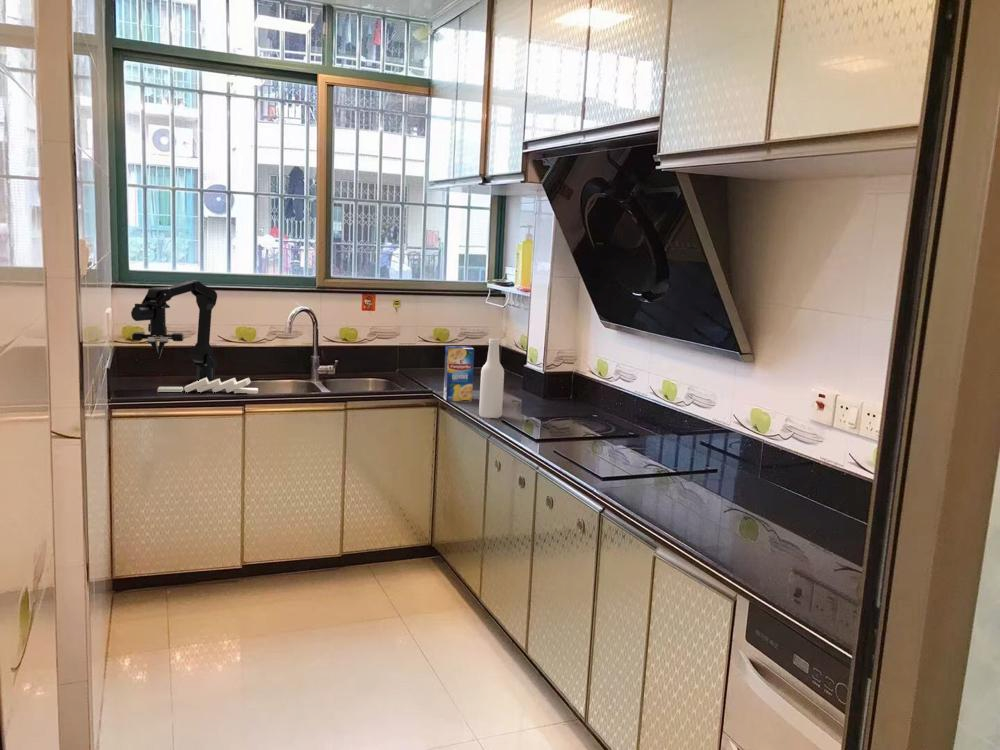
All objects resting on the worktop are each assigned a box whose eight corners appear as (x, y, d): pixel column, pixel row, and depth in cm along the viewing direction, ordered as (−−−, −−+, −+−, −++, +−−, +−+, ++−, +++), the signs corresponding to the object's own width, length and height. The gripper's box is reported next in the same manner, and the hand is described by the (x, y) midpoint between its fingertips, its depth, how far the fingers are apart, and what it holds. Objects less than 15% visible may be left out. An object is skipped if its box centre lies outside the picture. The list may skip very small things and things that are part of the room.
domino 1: (157, 389, 321) (181, 389, 324) (159, 386, 326) (183, 386, 328) (157, 393, 322) (181, 393, 324) (159, 391, 326) (183, 391, 329)
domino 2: (183, 388, 324) (205, 379, 325) (185, 386, 328) (206, 377, 330) (186, 392, 324) (207, 383, 326) (187, 390, 329) (208, 381, 330)
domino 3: (196, 388, 325) (218, 380, 326) (197, 386, 330) (219, 378, 331) (198, 393, 325) (220, 385, 327) (199, 390, 330) (221, 382, 332)
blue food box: (472, 401, 339) (474, 349, 335) (446, 401, 336) (448, 348, 332) (468, 397, 345) (471, 346, 341) (443, 397, 342) (445, 346, 339)
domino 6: (234, 389, 328) (257, 390, 330) (235, 387, 333) (258, 388, 335) (234, 394, 328) (257, 395, 330) (235, 392, 333) (258, 392, 335)
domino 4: (211, 388, 326) (232, 380, 327) (214, 385, 331) (234, 377, 332) (213, 393, 327) (234, 384, 327) (216, 390, 332) (236, 381, 332)
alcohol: (480, 418, 307) (484, 339, 302) (477, 413, 315) (481, 336, 310) (503, 419, 308) (507, 340, 303) (499, 414, 317) (504, 337, 312)
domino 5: (225, 388, 327) (245, 380, 326) (228, 385, 332) (248, 377, 331) (227, 392, 327) (247, 385, 327) (230, 389, 332) (250, 381, 332)
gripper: (184, 317, 336) (185, 355, 339) (135, 316, 331) (136, 354, 333) (181, 320, 325) (182, 359, 328) (131, 319, 320) (132, 358, 323)
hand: (158, 357), depth 328 cm, fingers closed
